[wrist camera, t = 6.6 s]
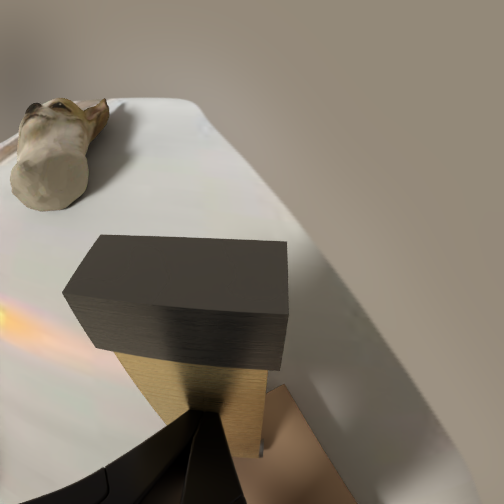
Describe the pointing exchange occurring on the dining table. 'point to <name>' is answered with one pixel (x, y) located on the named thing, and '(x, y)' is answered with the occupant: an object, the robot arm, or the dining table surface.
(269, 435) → the switch panel
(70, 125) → the ceramic sculpture
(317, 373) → the dining table surface
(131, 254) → the tan capped bar
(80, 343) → the dining table surface
